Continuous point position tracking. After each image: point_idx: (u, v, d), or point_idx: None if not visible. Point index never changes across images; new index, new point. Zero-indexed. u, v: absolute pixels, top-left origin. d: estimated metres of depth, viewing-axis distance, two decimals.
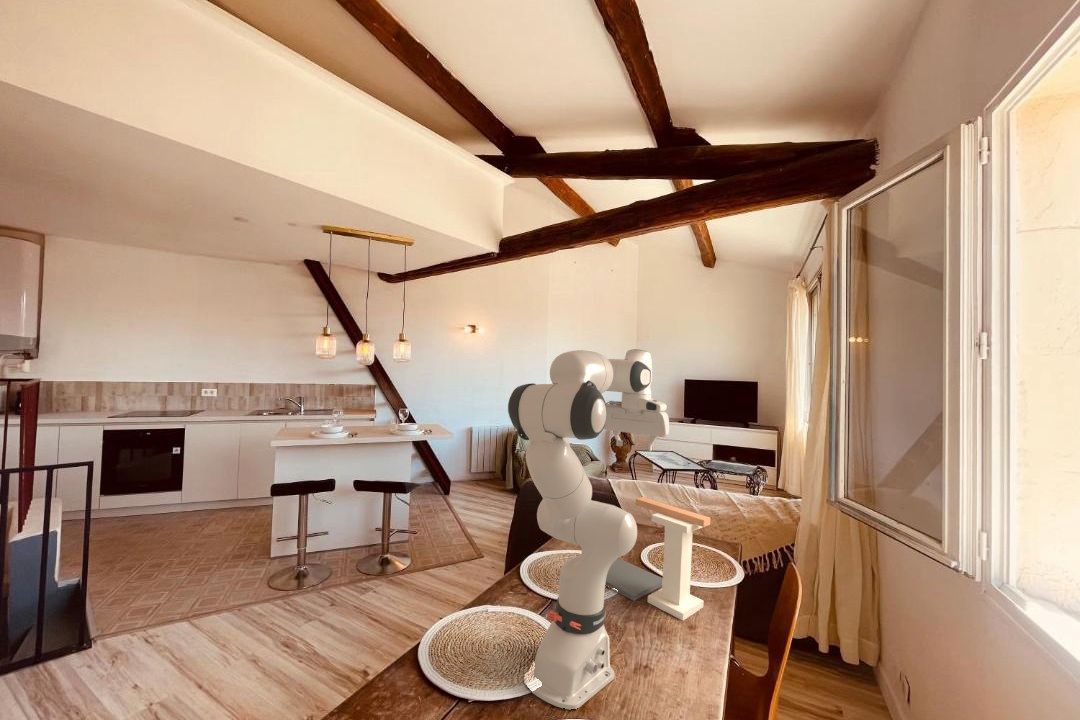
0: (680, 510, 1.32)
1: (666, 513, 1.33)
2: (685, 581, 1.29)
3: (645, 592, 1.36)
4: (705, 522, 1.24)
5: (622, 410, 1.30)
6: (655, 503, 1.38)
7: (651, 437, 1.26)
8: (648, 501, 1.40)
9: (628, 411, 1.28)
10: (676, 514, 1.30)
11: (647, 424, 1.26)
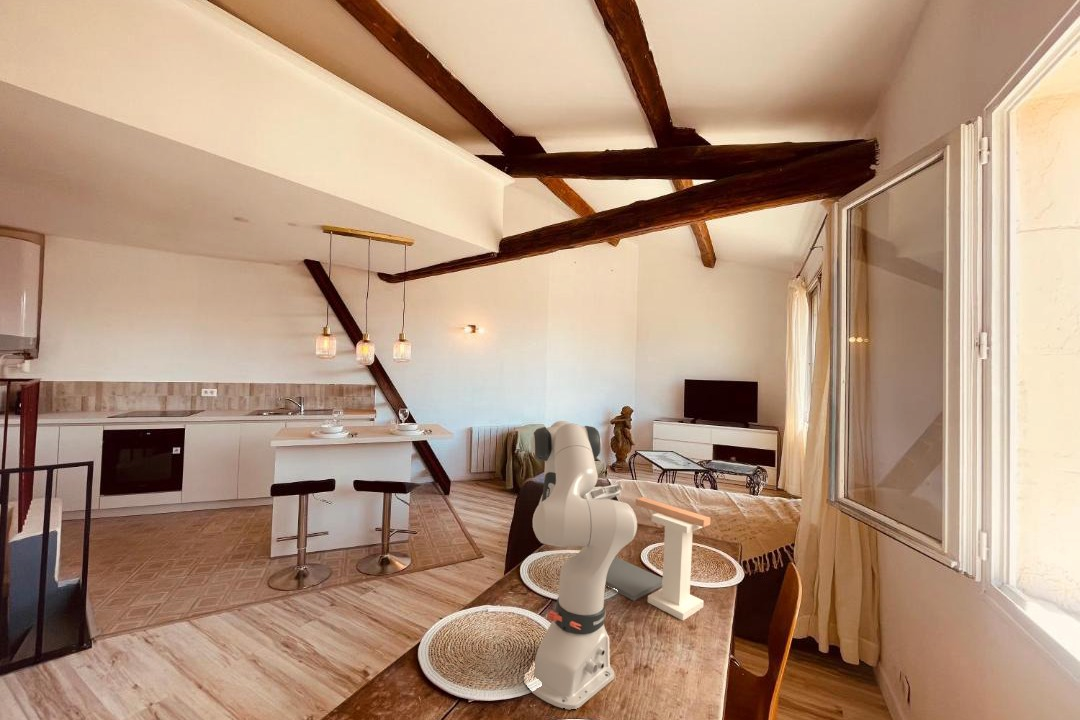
0: (680, 510, 1.32)
1: (666, 513, 1.33)
2: (685, 581, 1.29)
3: (645, 592, 1.36)
4: (705, 522, 1.24)
5: None
6: (655, 503, 1.38)
7: None
8: (648, 501, 1.40)
9: None
10: (676, 514, 1.30)
11: None
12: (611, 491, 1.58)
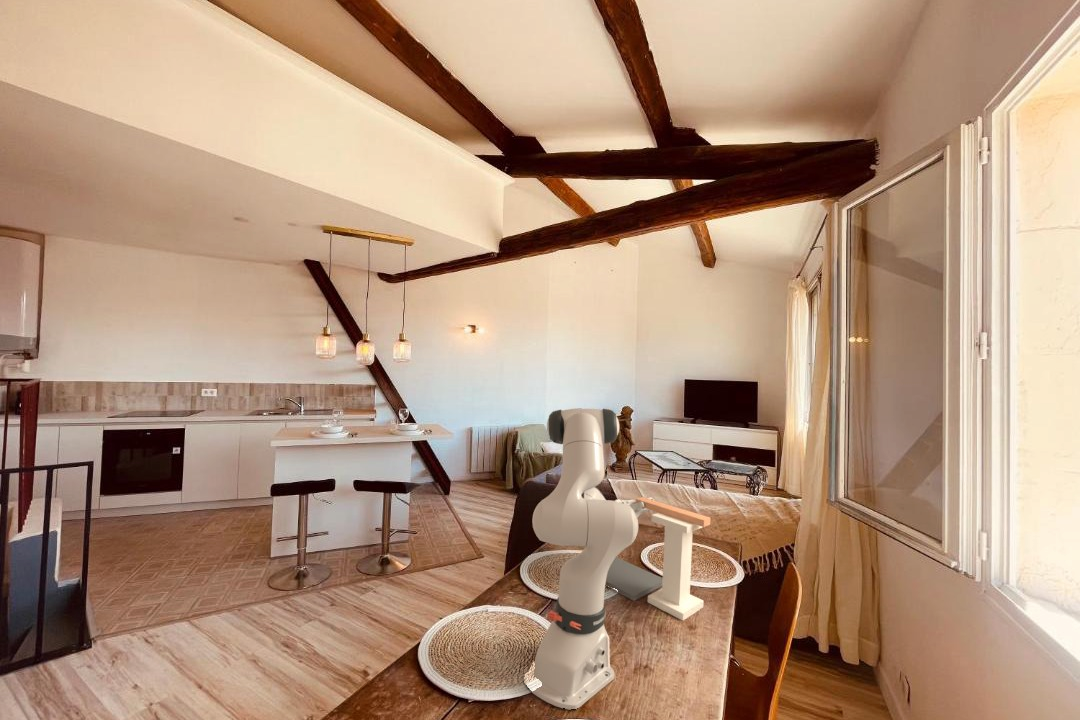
0: (680, 510, 1.32)
1: (666, 513, 1.33)
2: (685, 581, 1.29)
3: (645, 592, 1.36)
4: (705, 522, 1.24)
5: None
6: (655, 503, 1.38)
7: None
8: (648, 501, 1.40)
9: None
10: (676, 514, 1.30)
11: None
12: None
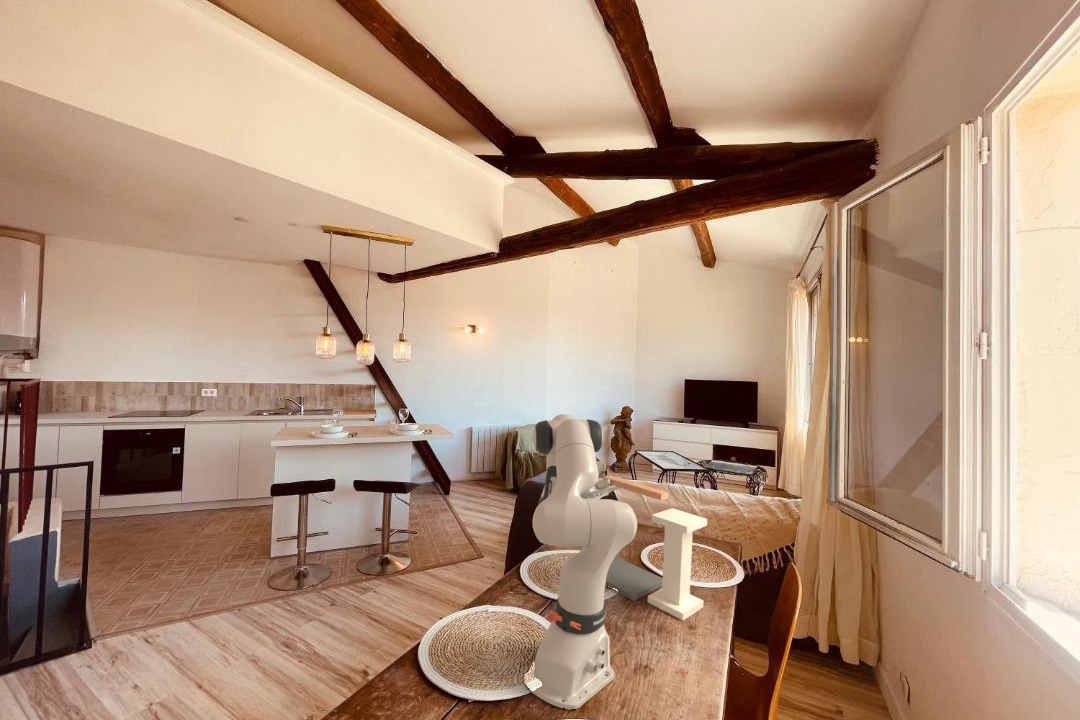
0: (642, 486, 1.43)
1: (629, 489, 1.44)
2: (685, 581, 1.29)
3: (645, 592, 1.36)
4: (663, 496, 1.35)
5: None
6: (620, 480, 1.49)
7: None
8: (614, 478, 1.51)
9: None
10: (638, 489, 1.41)
11: None
12: None
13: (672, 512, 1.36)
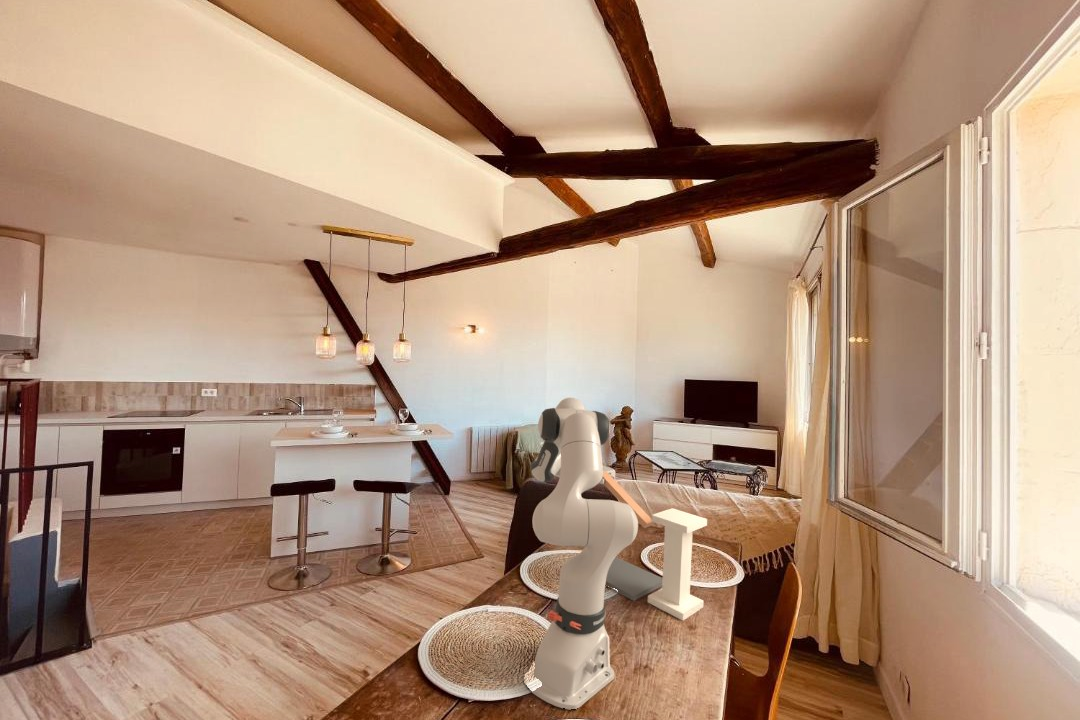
0: (632, 502, 1.45)
1: (619, 499, 1.47)
2: (685, 581, 1.29)
3: (645, 592, 1.36)
4: (647, 525, 1.39)
5: None
6: (614, 485, 1.50)
7: None
8: (609, 480, 1.52)
9: None
10: None
11: None
12: None
13: (672, 512, 1.36)
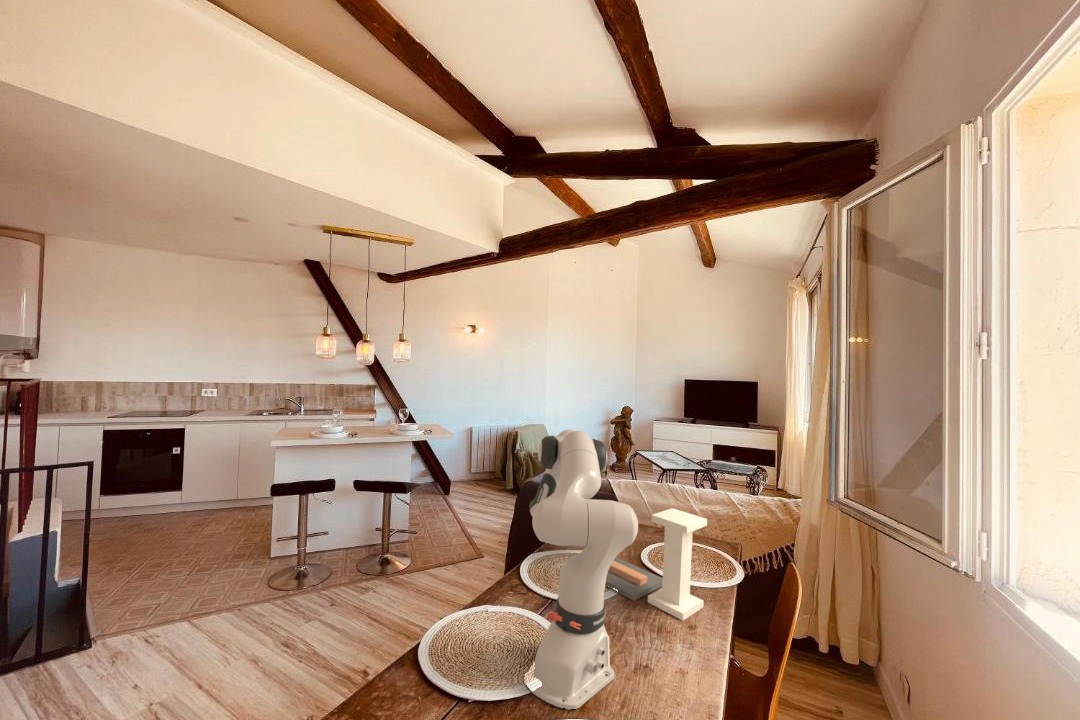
0: (622, 567, 1.47)
1: (610, 570, 1.48)
2: (685, 581, 1.29)
3: (645, 592, 1.36)
4: (641, 581, 1.39)
5: None
6: None
7: None
8: None
9: None
10: (618, 571, 1.45)
11: None
12: None
13: (672, 512, 1.36)
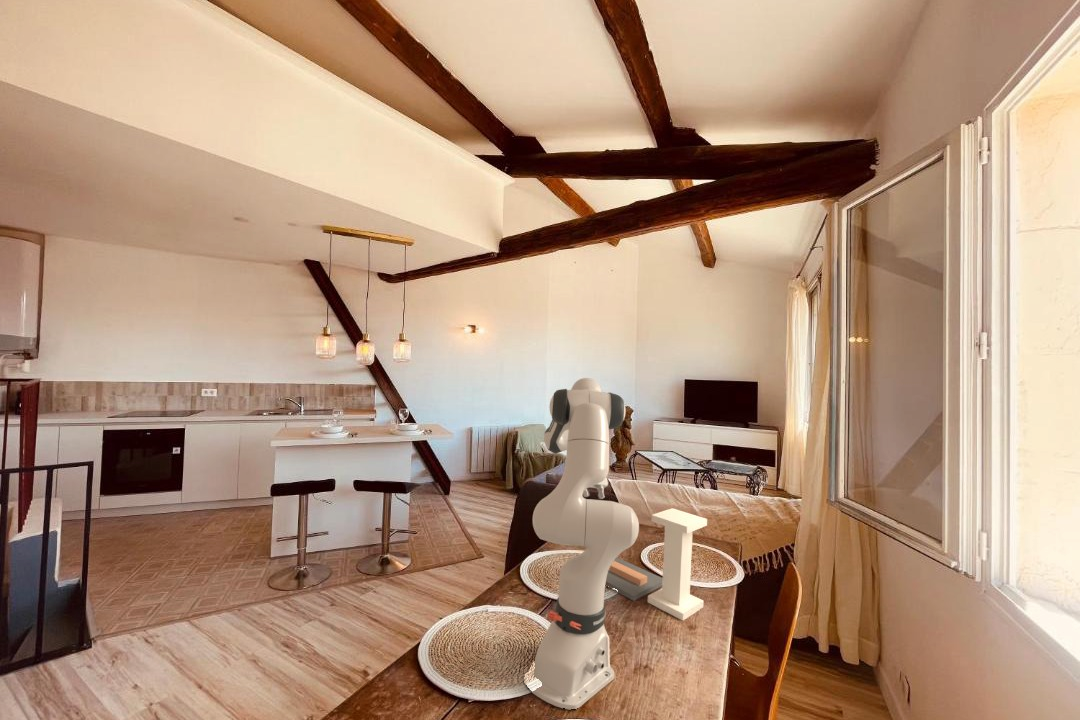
0: (622, 567, 1.47)
1: (610, 570, 1.48)
2: (685, 581, 1.29)
3: (645, 592, 1.36)
4: (641, 581, 1.39)
5: None
6: None
7: (601, 486, 1.61)
8: None
9: None
10: (618, 571, 1.45)
11: None
12: (596, 486, 1.61)
13: (672, 512, 1.36)
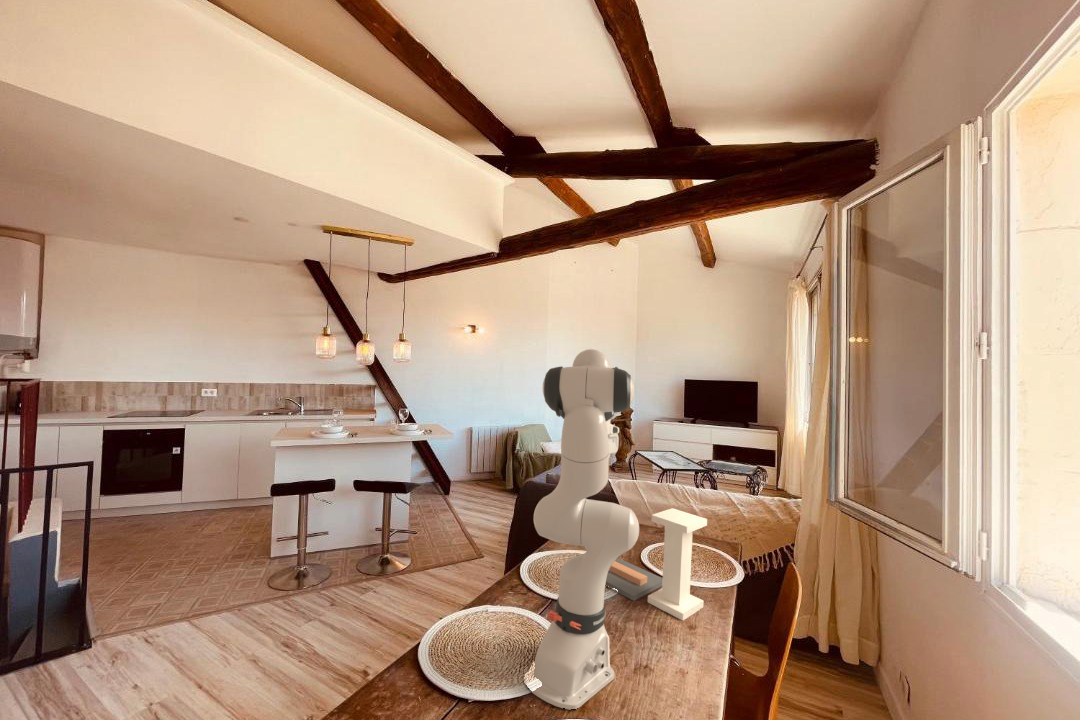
0: (622, 567, 1.47)
1: (610, 570, 1.48)
2: (685, 581, 1.29)
3: (645, 592, 1.36)
4: (641, 581, 1.39)
5: None
6: None
7: (608, 455, 1.52)
8: None
9: None
10: (618, 571, 1.45)
11: (608, 445, 1.50)
12: None
13: (672, 512, 1.36)
